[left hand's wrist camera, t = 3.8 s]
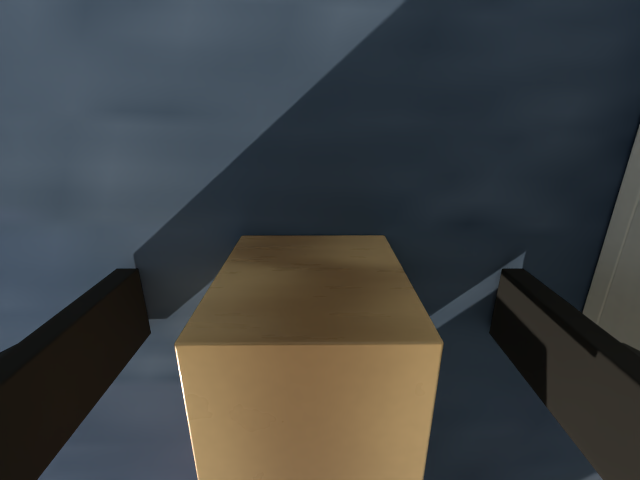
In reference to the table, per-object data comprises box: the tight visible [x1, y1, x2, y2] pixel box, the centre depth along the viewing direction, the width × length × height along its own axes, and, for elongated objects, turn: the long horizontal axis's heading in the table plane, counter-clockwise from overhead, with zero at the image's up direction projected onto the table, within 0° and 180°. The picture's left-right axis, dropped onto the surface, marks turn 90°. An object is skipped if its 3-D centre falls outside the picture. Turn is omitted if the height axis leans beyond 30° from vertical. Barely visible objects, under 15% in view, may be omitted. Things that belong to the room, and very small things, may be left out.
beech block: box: [174, 235, 443, 480], centre depth 10 cm, size 5×5×6 cm
